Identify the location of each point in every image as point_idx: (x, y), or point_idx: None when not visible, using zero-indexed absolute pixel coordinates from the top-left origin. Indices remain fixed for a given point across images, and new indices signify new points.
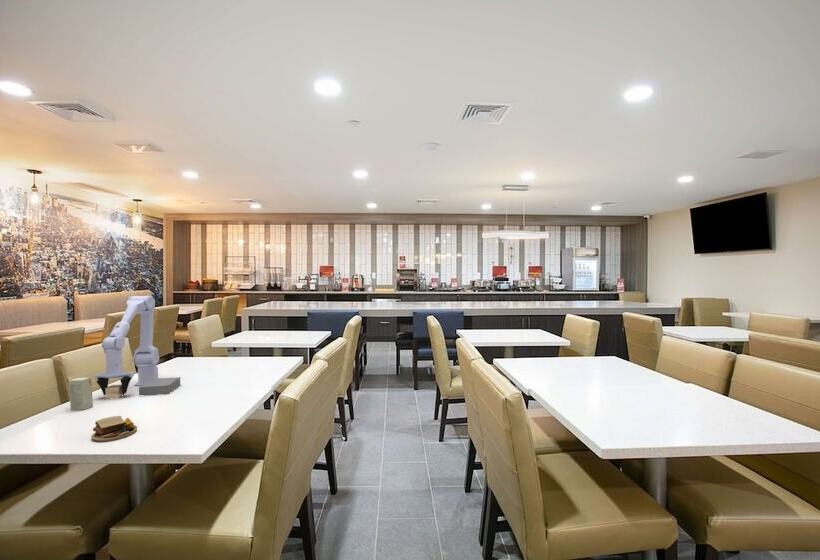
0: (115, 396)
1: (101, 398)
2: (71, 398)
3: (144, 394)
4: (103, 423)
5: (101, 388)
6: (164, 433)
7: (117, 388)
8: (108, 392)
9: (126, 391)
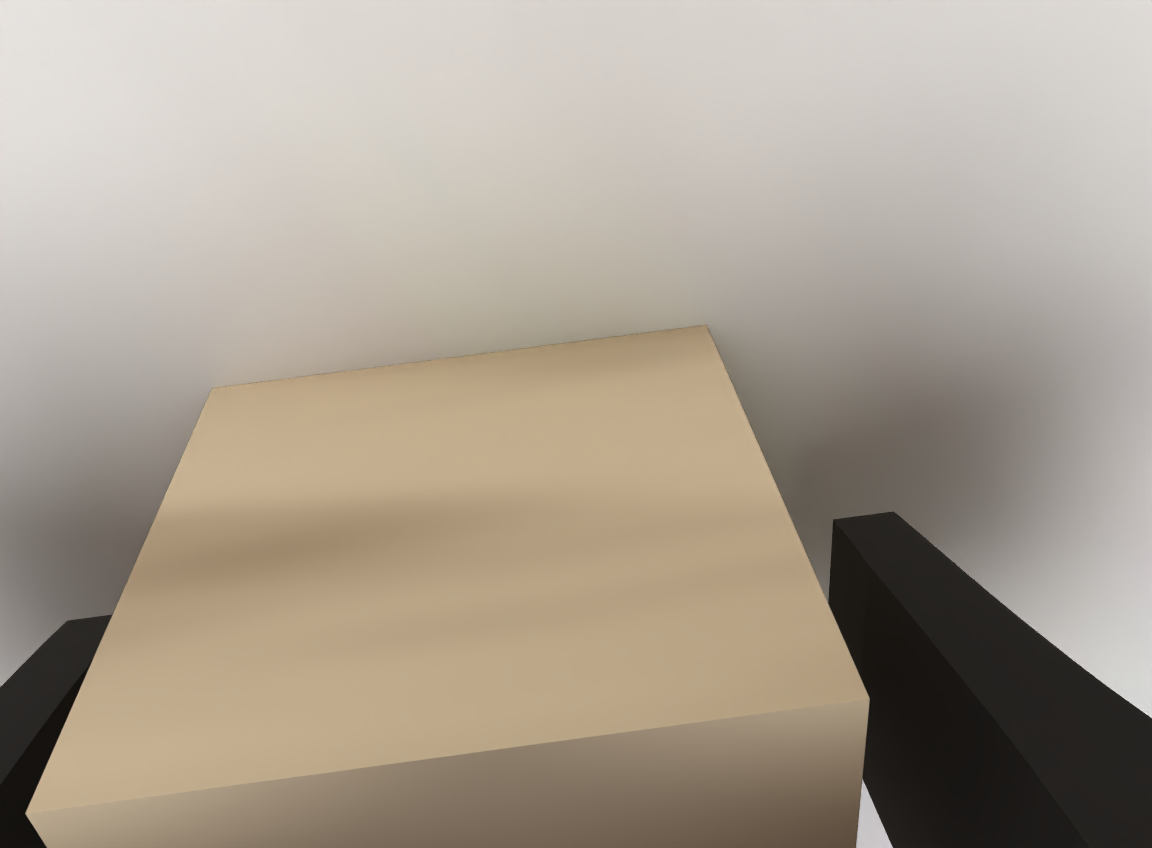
0: (311, 424)
1: (946, 452)
2: None
3: None
4: None
5: (1142, 727)
6: None
7: (93, 746)
8: (634, 524)
9: None
